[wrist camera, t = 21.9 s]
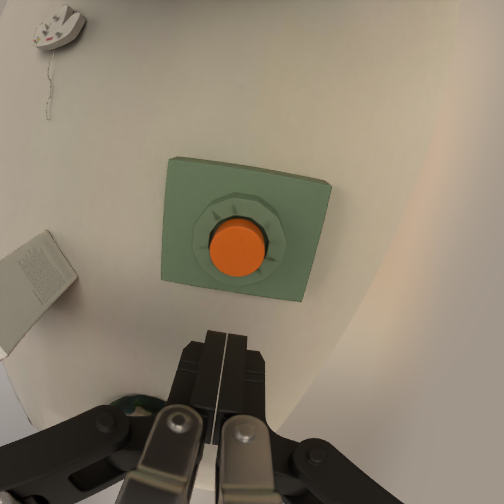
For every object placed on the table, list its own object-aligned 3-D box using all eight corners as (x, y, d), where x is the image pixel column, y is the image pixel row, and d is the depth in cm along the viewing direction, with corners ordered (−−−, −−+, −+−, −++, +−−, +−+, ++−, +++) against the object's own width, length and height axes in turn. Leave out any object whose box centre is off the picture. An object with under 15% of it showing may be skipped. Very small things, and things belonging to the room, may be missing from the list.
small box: (45, 302, 28) (-15, 371, 16) (17, 260, 26) (-53, 318, 14) (80, 277, 26) (8, 357, 14) (48, 227, 24) (-40, 289, 12)
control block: (325, 180, 22) (339, 190, 18) (298, 289, 26) (304, 315, 22) (176, 156, 22) (160, 161, 18) (167, 268, 25) (154, 291, 22)
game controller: (87, -2, 15) (74, -10, 12) (96, 97, 19) (80, 95, 17) (43, 24, 15) (28, 20, 13) (50, 119, 20) (33, 121, 17)
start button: (268, 223, 20) (269, 231, 18) (259, 269, 21) (259, 280, 20) (216, 214, 20) (212, 222, 18) (210, 261, 21) (206, 272, 19)
